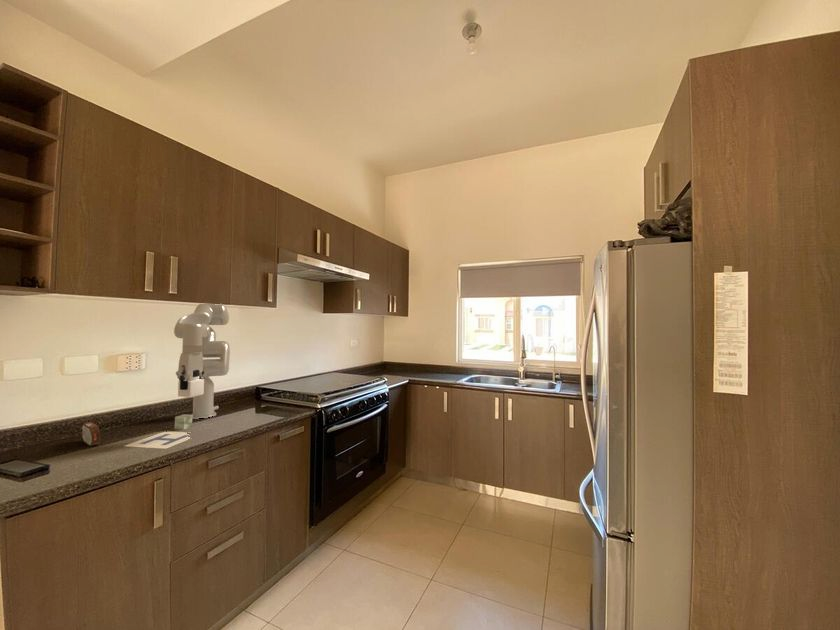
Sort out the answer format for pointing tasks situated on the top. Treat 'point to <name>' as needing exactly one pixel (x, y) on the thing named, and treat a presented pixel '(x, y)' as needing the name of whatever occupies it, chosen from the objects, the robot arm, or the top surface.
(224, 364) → the robot arm
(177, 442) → the letter sheet
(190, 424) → the cover block
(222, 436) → the top surface
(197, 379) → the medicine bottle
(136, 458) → the top surface
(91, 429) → the tin
